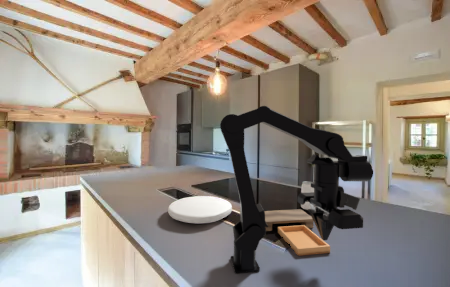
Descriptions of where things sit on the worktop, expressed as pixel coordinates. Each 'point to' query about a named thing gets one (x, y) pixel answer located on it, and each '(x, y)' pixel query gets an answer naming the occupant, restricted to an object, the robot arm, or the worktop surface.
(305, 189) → the can
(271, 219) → the overhang
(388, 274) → the worktop surface
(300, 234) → the shallow tan tray
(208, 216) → the white thick disc
